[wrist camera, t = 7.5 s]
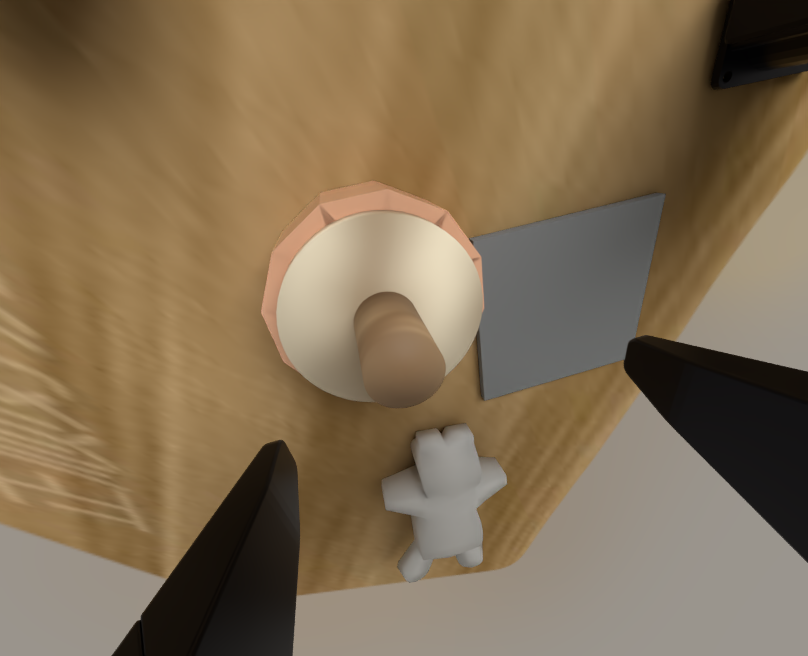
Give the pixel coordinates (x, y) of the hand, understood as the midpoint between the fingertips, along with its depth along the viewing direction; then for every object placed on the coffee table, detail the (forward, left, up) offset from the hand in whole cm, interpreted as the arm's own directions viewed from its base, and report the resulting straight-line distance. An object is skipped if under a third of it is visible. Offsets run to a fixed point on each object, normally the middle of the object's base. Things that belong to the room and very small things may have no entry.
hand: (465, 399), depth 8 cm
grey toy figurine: (0, +20, -12) cm, 24 cm away
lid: (+1, +1, -8) cm, 8 cm away
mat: (-11, +6, -12) cm, 17 cm away
